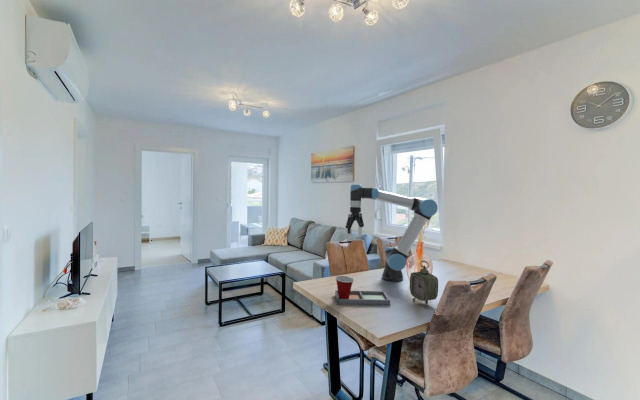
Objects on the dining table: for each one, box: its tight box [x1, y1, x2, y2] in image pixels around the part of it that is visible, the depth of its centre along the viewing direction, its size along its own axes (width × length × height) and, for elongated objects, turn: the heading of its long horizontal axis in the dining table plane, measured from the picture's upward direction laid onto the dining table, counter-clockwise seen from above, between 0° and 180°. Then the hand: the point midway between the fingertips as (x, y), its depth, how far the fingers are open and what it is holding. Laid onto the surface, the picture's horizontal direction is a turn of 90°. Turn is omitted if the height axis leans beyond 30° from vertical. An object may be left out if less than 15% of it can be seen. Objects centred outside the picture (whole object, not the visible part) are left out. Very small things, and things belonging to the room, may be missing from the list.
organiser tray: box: [334, 289, 391, 306], centre depth 179 cm, size 30×16×3 cm, turn 91°
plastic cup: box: [335, 275, 355, 299], centre depth 178 cm, size 11×11×12 cm
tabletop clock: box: [409, 260, 439, 309], centre depth 174 cm, size 14×9×25 cm, turn 21°
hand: (354, 237), depth 213 cm, fingers open, 13 cm apart
